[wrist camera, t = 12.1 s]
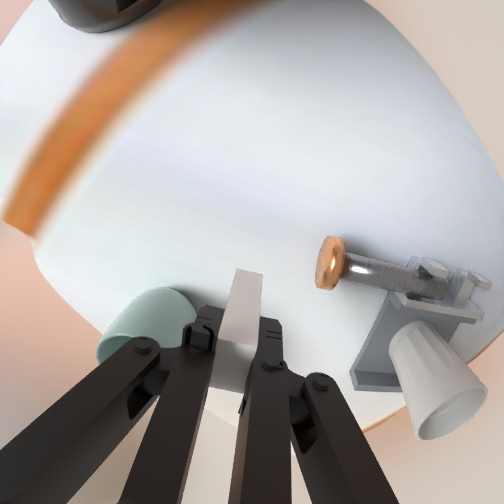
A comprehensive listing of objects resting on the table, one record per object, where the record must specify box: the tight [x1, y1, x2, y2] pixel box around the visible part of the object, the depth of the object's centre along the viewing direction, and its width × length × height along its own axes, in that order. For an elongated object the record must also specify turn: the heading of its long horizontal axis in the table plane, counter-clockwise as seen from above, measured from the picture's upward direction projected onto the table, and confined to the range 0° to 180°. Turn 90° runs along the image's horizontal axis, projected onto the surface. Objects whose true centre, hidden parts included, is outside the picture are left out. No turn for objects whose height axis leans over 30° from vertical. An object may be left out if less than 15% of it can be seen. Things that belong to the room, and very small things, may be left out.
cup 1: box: [96, 287, 197, 401], centre depth 25 cm, size 8×8×10 cm
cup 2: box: [389, 320, 487, 442], centre depth 23 cm, size 8×8×12 cm
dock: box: [349, 291, 477, 392], centre depth 28 cm, size 12×12×3 cm
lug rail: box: [394, 256, 491, 320], centre depth 25 cm, size 4×12×4 cm, turn 78°
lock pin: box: [315, 236, 449, 301], centre depth 23 cm, size 13×4×4 cm, turn 78°
